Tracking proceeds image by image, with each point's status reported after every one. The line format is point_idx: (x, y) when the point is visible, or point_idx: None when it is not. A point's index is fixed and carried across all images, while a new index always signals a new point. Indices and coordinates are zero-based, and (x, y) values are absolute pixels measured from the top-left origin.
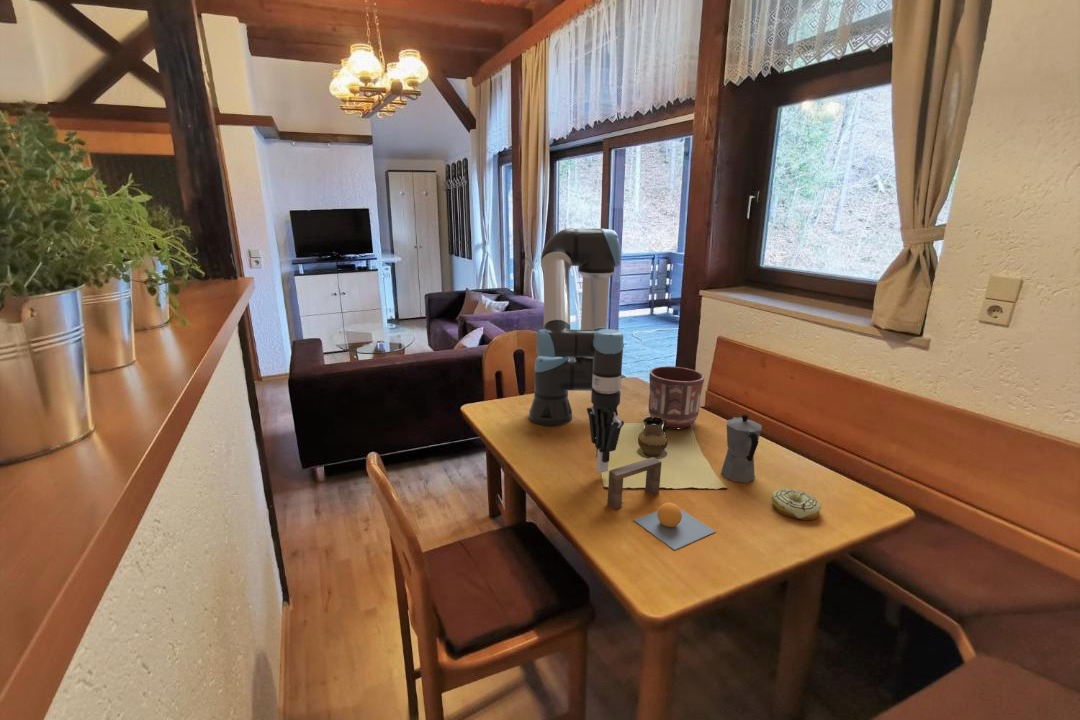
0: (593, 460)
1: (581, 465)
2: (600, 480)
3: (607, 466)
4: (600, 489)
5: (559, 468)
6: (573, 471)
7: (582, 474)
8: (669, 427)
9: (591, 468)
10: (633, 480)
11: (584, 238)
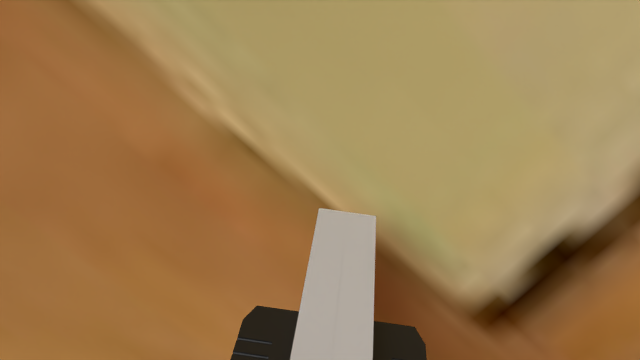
0: (25, 40)
1: (68, 200)
2: (378, 262)
3: (374, 251)
4: (480, 353)
5: (37, 351)
6: (130, 312)
7: (209, 296)
8: None
9: (160, 173)
10: (608, 29)
11: None
